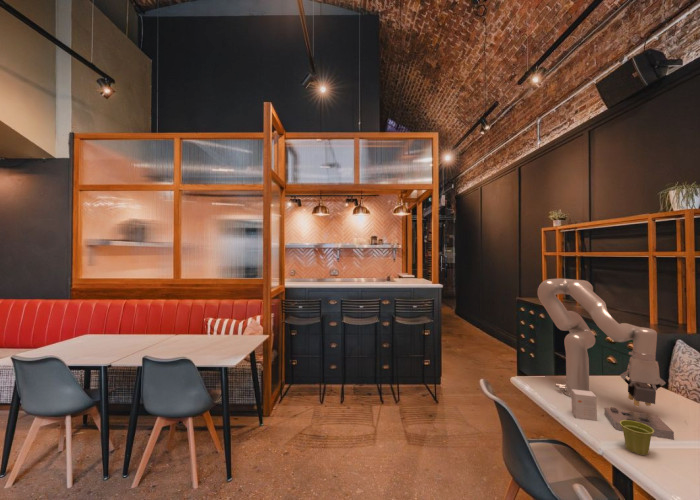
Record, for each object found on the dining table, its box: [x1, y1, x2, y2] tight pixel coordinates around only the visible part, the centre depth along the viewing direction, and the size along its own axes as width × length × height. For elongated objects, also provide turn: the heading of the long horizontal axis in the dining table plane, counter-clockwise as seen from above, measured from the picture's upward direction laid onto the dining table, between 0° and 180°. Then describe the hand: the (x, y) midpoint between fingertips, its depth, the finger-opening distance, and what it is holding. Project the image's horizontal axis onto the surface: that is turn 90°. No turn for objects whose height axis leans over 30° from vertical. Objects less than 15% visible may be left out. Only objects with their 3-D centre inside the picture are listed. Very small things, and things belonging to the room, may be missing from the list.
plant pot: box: [620, 420, 654, 456], centre depth 119 cm, size 9×9×9 cm
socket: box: [603, 406, 675, 440], centre depth 135 cm, size 18×14×4 cm
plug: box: [627, 382, 657, 407], centre depth 145 cm, size 6×9×9 cm
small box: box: [571, 389, 598, 421], centre depth 143 cm, size 8×6×10 cm
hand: (641, 395), depth 145 cm, fingers closed on plug, 6 cm apart
